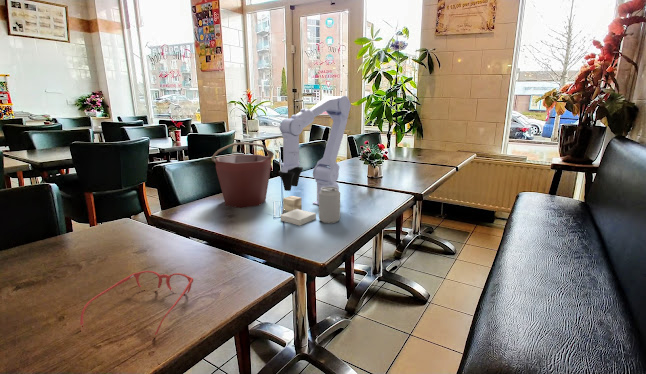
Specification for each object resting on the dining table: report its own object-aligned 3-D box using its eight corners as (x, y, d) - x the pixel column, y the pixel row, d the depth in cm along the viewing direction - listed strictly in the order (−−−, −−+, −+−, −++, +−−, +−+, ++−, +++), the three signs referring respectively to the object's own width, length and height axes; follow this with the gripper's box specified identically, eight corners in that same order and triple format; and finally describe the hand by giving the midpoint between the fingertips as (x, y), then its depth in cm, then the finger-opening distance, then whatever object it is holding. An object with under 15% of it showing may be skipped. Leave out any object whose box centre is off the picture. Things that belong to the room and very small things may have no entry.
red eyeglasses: (203, 294, 77) (201, 274, 76) (159, 343, 62) (156, 318, 61) (133, 288, 80) (130, 268, 79) (74, 332, 65) (69, 309, 64)
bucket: (277, 195, 157) (275, 139, 151) (271, 210, 136) (269, 146, 130) (222, 195, 156) (218, 139, 150) (208, 210, 135) (203, 146, 129)
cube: (292, 207, 139) (291, 195, 138) (301, 209, 136) (301, 197, 135) (283, 210, 135) (283, 198, 134) (293, 213, 133) (292, 200, 131)
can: (338, 225, 120) (338, 191, 117) (316, 223, 121) (316, 190, 118) (341, 218, 127) (341, 186, 124) (321, 216, 128) (321, 185, 125)
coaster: (297, 213, 131) (297, 208, 131) (315, 218, 126) (315, 213, 126) (280, 220, 124) (280, 214, 124) (299, 225, 119) (299, 220, 119)
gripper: (287, 149, 134) (287, 183, 137) (273, 153, 121) (273, 191, 124) (305, 150, 133) (304, 184, 136) (292, 154, 119) (292, 193, 122)
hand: (291, 188), depth 130 cm, fingers open, 7 cm apart
